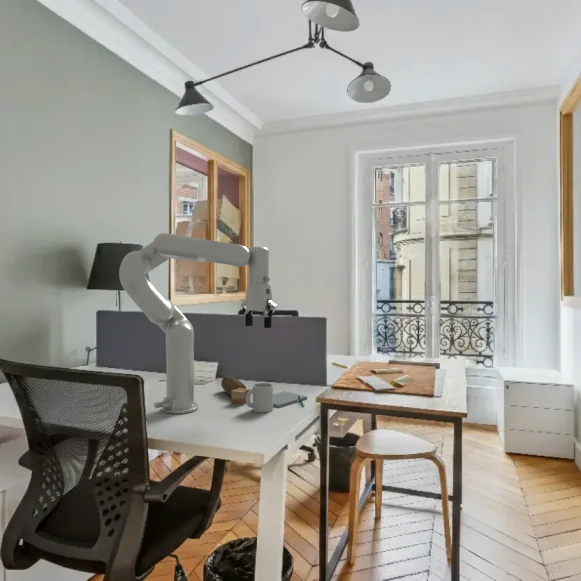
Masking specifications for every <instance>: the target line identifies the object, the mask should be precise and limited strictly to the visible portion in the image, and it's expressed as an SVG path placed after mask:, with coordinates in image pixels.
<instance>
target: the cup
mask: <svg viewBox="0 0 581 581" xmlns="http://www.w3.org/2000/svg"><path fill="white" fill-rule="evenodd" d="M273 394H274V384H272V383H269V382H258V383H254V384H253V385H252V388H250V390H249V391H248V392H247V394H246V404H245V405H246V406H247V407H248V408H250V409H252V410H253V411H254V412H255V411H256V412H255V413H258V412H261V413H260V414H263V413H262V412H267V413H271V412H272V411H273V409H274V406H273ZM251 395H252V402H251ZM270 411H271V412H270Z"/></svg>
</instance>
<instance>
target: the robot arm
mask: <svg viewBox="0 0 581 581" xmlns="http://www.w3.org/2000/svg"><path fill="white" fill-rule="evenodd" d="M269 253H270V250H269V249H268V248H267V247H265V246H252V247H246V246H244V245H242V244H237V243H231V242H225V241H217V240H212V239H211V240H210V239H206V238H199V237H192V236H186V235H179V234H173V233H167V232H164V233H163V232H162V233H159V234H157V235H156V236H155V237H154V239H153V241H152V242H150V243H149V244H148V245H146V246H144V247H142V248H141V249H139V250H133V251H131V252H129V253H127V254H126V255H125V256H124V257H123V259H122V261H121V263H120V266H119V272H118V273H119V274H118V275H119V276H118V277H119V281H120V284H121V286H122V289H123V290H124V291H125V293H126V294H127V296H128V297H129V298H131V300H132V301H133V302H134V303H135V305H136V306H137V307H138V308H139V309H140V311H142V313H143V314H144V315H145V316H146V318H147V319H148V320H149V321H150V322H151V323H153V324H155V325H157V326H158V327H159V329H160V330H162V332H163V333H164V334H165V352H166V354H165V360H166V362H165V363H166V364H165V366H166V396H165V397H163V400H161V401H158V402H155V403H154V404H153V407H154V409H158V408H161V410H162V411H163V413H167V414H179V415H180V414H187V413H188V414H189V413H192V412H195V411H197V409H199V404H198V402H195V392H194V391H195V387H194V386H195V384H194V383H195V380H194V379H195V378H194V377H195V375H194V374H195V371H194V370H195V369H194V367H195V366H194V365H195V362H194V359H195V358H194V356H195V355H194V350H195V349H194V348H195V347H194V346H195V332H194V327H193V324H192V322H190V321H189V319H187V317H186V316H185V315H184V314H183V313H182V312H181V311H180V309H179V308H178V307H177V306H176V305H175V304H174V303H173V302H172V301H171V300H170V299H168V298H166V297H164V296H163V295H162V294H161V293H160V292H159V291H158V289H156V287H155V286H154V284H152V283H151V282H150V280H149V279H148V278H147V274H148V273H150V272H151V271H153V270H154V269H156V268H157V267H159V266H160V265H162V264H164V263H166V261H168V260H169V259H174V260H182V261H186V262H187V261H188V262H195V263H215V264H223V265H229V266H233V267H237V268H239V267H245V266H247V267H248V268H247V272H248V275H247V281H248V283H247V286H246V292H245V300H244V301H243V302H241V303H240V306H241V308H242V312H243V315H244V318H245V320H244V321H245V323H244V324H245V325H244V326H245V327H252V326H253V323H254V322H253V321H254V319H253V317H254V316H253V315H252V314H253V312H262V313H263V314H264V318H263V328H264V329H271V328H272V317H273V316H274V314H275V313H276V310H277V307H278V306H277V304H276V303H274V302H273V293H272V286H271V284H270V280H271V278H270V276H269V273H270V272H269V271H270V263H269V262H270V258H269V256H270V254H269Z"/></svg>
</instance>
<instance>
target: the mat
mask: <svg viewBox="0 0 581 581" xmlns="http://www.w3.org/2000/svg"><path fill="white" fill-rule="evenodd" d="M298 396H300V399H301V400H302V401H305V400H308V396H307V395H302V394H297V393H293V392H290V391H289V392H288V391H285V390H284V391H281V392H277V393H273V408H278V409H279V408H284V407H286V406H289V405H292V404H296V403H298V402H297V401H298Z"/></svg>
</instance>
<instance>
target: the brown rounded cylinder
mask: <svg viewBox="0 0 581 581" xmlns="http://www.w3.org/2000/svg"><path fill="white" fill-rule="evenodd" d="M220 383H221V384H220V385H221V387H222V389H223V391H224V392H226V393H227V394H228V395H230V396H231V397H232V390H235V389H237V388H244V389H247V387H246V385H245V384H244V383H243V382H241V380H239V379H237V378H236V377H234V376H230V375H227V376H225V377H223V378H222V380H221V382H220Z"/></svg>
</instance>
